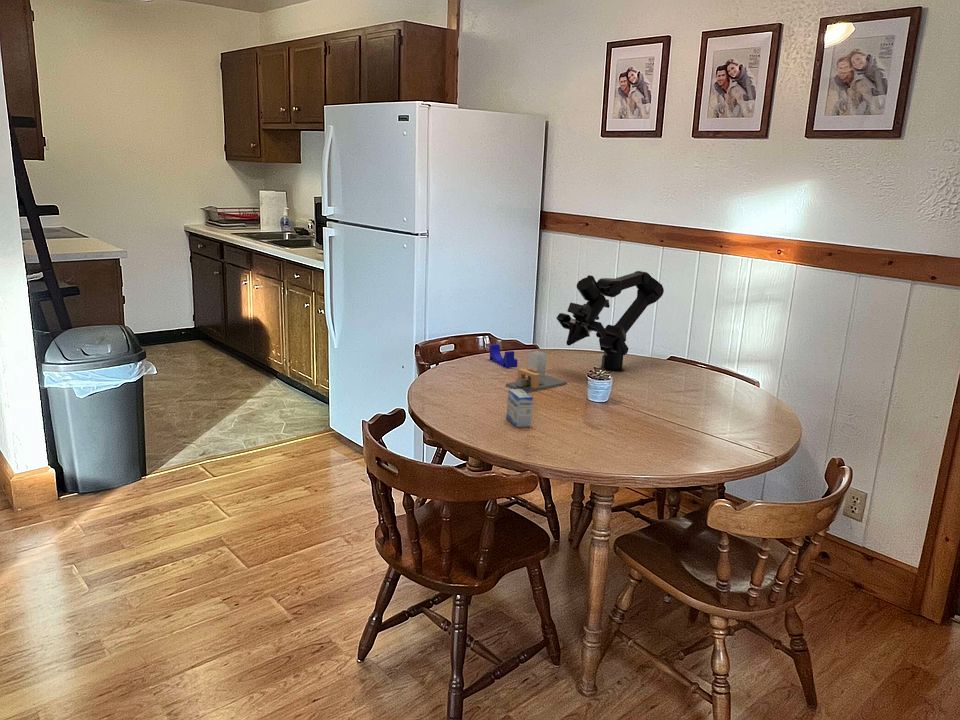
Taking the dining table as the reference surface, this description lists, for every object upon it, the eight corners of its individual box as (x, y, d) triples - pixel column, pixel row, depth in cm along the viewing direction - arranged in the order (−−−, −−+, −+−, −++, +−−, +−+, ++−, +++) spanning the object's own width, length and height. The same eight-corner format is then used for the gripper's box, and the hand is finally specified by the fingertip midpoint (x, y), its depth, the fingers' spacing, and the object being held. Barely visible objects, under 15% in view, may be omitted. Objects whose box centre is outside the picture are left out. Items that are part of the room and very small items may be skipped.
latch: (535, 380, 247) (537, 350, 245) (544, 383, 244) (546, 353, 242) (513, 384, 241) (515, 354, 238) (522, 387, 238) (524, 357, 235)
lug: (521, 381, 246) (522, 368, 245) (538, 387, 240) (539, 374, 239) (517, 382, 245) (518, 369, 244) (534, 388, 239) (535, 375, 238)
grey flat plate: (547, 377, 254) (547, 375, 254) (566, 384, 248) (567, 381, 248) (505, 386, 242) (505, 383, 242) (525, 393, 236) (525, 391, 236)
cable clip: (517, 367, 265) (518, 351, 264) (506, 369, 263) (507, 352, 262) (500, 359, 276) (500, 343, 274) (489, 360, 273) (490, 344, 272)
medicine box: (505, 418, 212) (507, 389, 210) (520, 417, 214) (522, 388, 211) (516, 427, 205) (518, 397, 203) (531, 426, 207) (533, 396, 204)
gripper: (562, 289, 256) (537, 324, 252) (603, 298, 243) (577, 335, 239) (576, 310, 263) (551, 344, 259) (617, 319, 250) (592, 356, 246)
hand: (567, 344), depth 250 cm, fingers closed
